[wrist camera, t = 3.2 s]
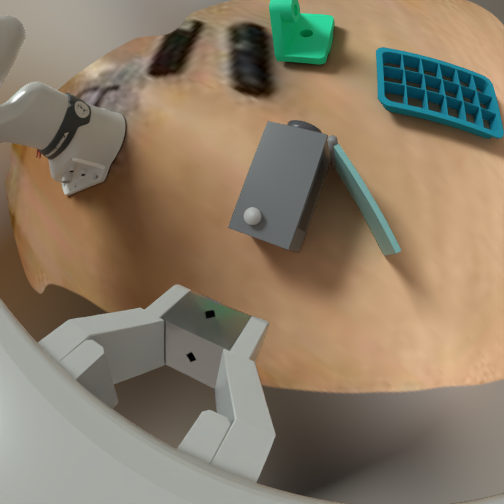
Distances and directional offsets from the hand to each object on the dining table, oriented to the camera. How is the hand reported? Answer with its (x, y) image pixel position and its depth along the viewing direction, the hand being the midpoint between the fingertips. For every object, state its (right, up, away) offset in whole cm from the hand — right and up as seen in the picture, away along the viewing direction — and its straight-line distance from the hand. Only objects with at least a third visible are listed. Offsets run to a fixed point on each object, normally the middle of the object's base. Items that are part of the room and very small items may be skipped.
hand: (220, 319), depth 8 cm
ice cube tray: (+29, +25, +20) cm, 43 cm away
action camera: (+6, +10, +26) cm, 29 cm away
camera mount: (+10, +37, +26) cm, 46 cm away
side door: (+14, +8, +23) cm, 28 cm away
